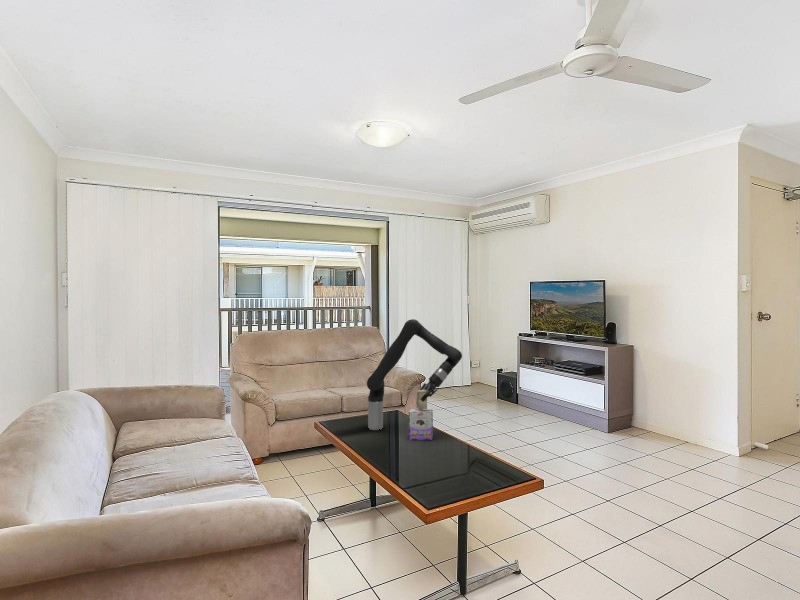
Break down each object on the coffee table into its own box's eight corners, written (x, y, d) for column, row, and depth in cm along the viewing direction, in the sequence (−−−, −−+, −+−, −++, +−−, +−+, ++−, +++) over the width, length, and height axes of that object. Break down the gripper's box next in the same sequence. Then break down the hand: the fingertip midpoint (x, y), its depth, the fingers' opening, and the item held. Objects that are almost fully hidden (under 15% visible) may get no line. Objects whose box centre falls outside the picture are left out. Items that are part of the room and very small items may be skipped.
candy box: (432, 437, 260) (432, 409, 260) (432, 440, 254) (432, 411, 254) (409, 436, 262) (409, 408, 262) (408, 439, 256) (408, 411, 256)
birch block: (416, 407, 259) (416, 390, 259) (423, 407, 261) (423, 390, 261) (419, 409, 255) (419, 392, 255) (427, 408, 257) (427, 391, 257)
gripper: (428, 371, 268) (410, 393, 263) (440, 375, 255) (421, 398, 250) (436, 379, 270) (418, 401, 265) (448, 383, 257) (429, 406, 252)
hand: (420, 399), depth 258 cm, fingers closed on birch block, 4 cm apart
